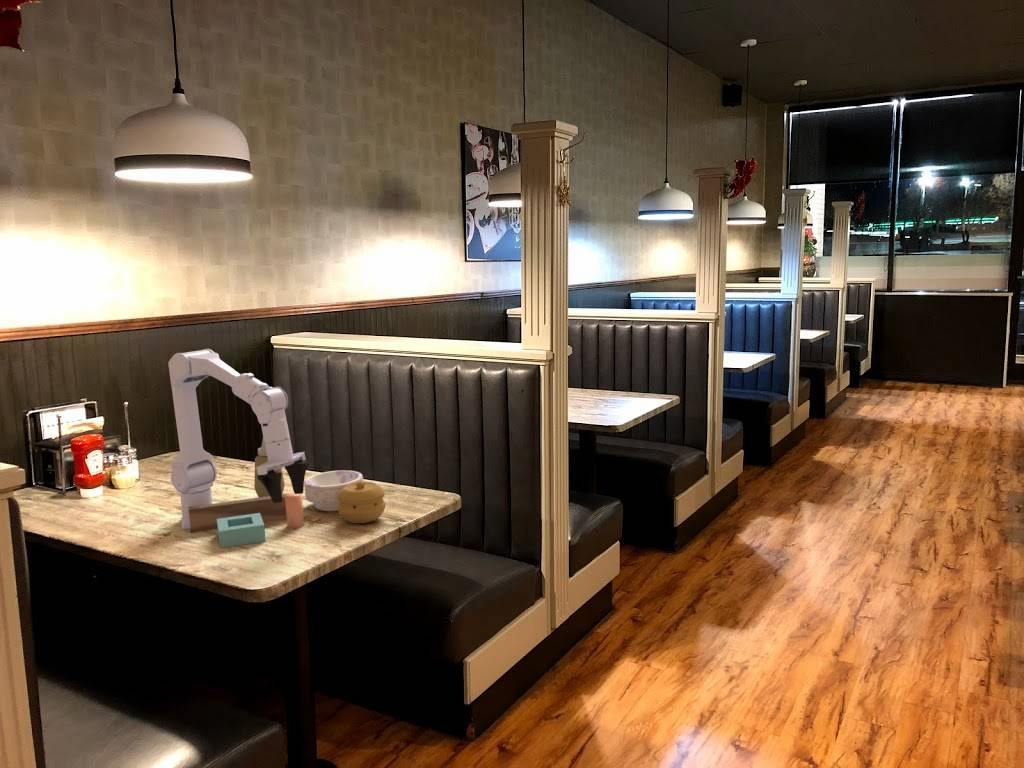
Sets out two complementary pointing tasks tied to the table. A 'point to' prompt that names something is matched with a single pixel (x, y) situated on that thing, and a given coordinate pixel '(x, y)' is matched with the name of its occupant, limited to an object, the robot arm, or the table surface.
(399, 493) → the table surface
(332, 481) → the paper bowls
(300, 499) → the dowel
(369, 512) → the pot
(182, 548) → the table surface
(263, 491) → the squeeze bottle
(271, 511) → the backstop wall
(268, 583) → the table surface
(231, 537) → the sliding block
